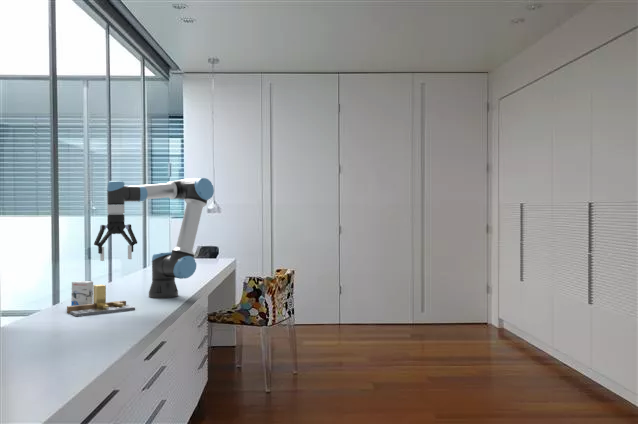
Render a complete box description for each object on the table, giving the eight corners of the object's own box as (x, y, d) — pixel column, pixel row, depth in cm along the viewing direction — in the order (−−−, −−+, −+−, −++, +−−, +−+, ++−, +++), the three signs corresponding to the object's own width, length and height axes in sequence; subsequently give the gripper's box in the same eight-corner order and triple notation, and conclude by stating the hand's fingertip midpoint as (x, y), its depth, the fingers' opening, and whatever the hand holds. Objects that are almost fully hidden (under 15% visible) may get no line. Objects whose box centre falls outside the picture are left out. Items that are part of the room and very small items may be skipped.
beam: (124, 306, 276) (124, 300, 276) (132, 309, 269) (132, 302, 269) (66, 312, 259) (66, 306, 259) (73, 315, 252) (73, 308, 252)
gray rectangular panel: (128, 307, 272) (128, 304, 272) (135, 310, 266) (135, 306, 266) (70, 314, 256) (70, 310, 255) (76, 316, 249) (76, 313, 249)
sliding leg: (102, 307, 270) (102, 284, 270) (110, 310, 262) (110, 286, 262) (93, 308, 268) (93, 285, 268) (101, 311, 260) (101, 287, 260)
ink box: (70, 307, 274) (70, 282, 274) (76, 305, 279) (76, 280, 279) (88, 307, 273) (88, 282, 273) (93, 305, 278) (93, 281, 278)
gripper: (138, 213, 283) (138, 257, 283) (86, 214, 267) (86, 260, 267) (144, 213, 277) (144, 259, 277) (92, 214, 261) (92, 262, 262)
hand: (116, 260), depth 272 cm, fingers open, 12 cm apart
